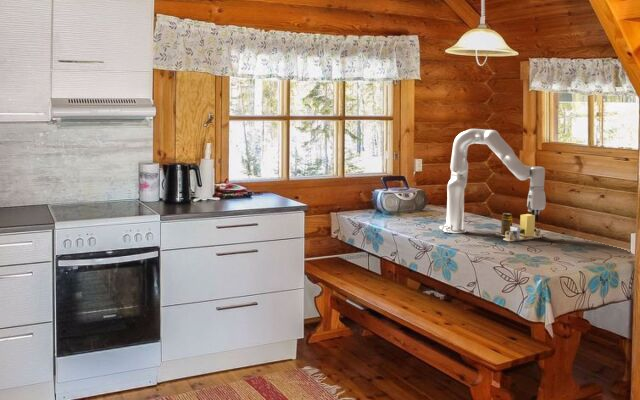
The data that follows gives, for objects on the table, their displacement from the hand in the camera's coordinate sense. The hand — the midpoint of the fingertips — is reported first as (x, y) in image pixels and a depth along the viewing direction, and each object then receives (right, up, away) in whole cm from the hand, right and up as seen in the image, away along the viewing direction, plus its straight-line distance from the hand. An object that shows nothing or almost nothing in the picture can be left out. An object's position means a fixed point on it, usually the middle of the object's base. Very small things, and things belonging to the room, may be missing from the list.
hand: (534, 221), depth 388 cm
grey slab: (-13, -10, -5) cm, 17 cm away
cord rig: (-8, -9, -3) cm, 12 cm away
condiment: (-14, -8, +8) cm, 19 cm away
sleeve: (-5, -8, -2) cm, 9 cm away
